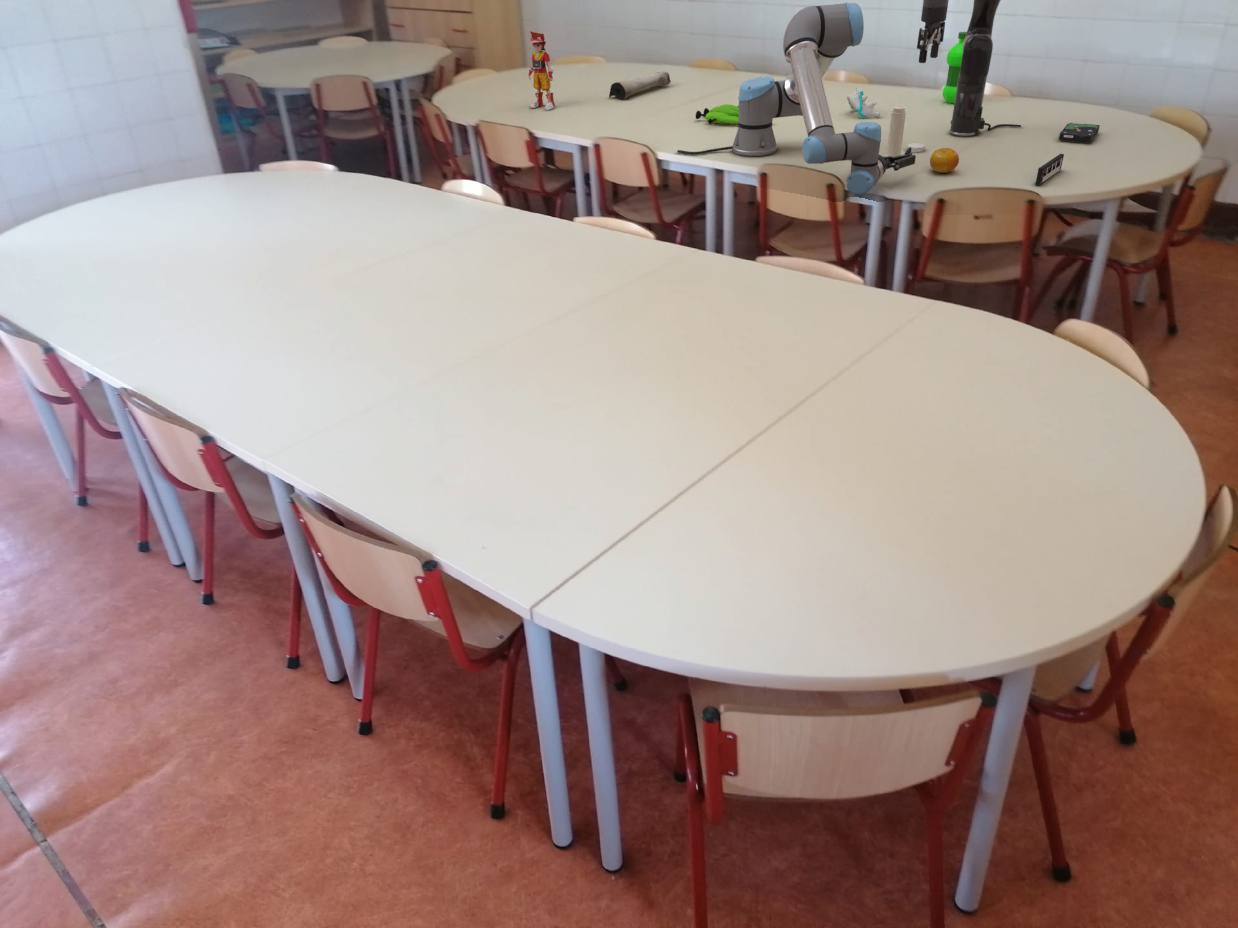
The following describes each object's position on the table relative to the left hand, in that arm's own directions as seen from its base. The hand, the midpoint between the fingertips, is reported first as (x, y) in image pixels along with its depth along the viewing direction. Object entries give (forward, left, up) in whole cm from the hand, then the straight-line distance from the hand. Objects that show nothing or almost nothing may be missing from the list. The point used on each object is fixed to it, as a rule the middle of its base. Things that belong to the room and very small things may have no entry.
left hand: (888, 150), depth 285 cm
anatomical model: (-25, +67, -7) cm, 72 cm away
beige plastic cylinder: (0, +9, -7) cm, 11 cm away
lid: (+4, +26, -5) cm, 26 cm away
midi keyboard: (+48, +7, -7) cm, 49 cm away
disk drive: (+52, +56, -7) cm, 77 cm away
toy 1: (-156, +44, -7) cm, 162 cm away
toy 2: (-68, +45, -7) cm, 82 cm away
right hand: (+4, +25, +22) cm, 34 cm away
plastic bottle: (+4, +94, -7) cm, 95 cm away
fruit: (+17, +4, -7) cm, 19 cm away
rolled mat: (-127, +80, -7) cm, 150 cm away
